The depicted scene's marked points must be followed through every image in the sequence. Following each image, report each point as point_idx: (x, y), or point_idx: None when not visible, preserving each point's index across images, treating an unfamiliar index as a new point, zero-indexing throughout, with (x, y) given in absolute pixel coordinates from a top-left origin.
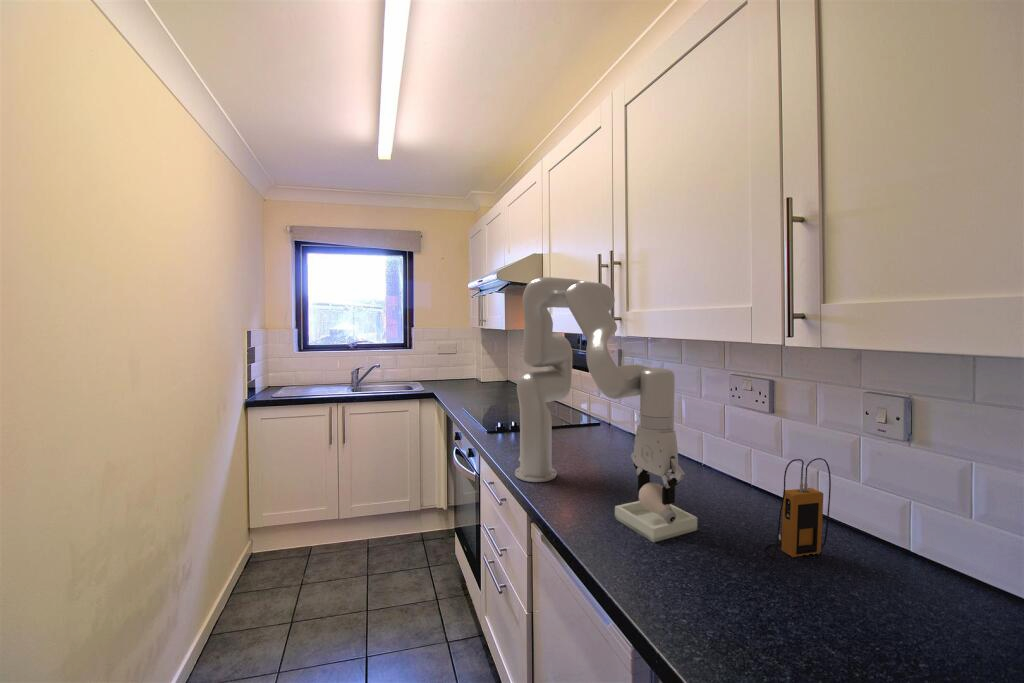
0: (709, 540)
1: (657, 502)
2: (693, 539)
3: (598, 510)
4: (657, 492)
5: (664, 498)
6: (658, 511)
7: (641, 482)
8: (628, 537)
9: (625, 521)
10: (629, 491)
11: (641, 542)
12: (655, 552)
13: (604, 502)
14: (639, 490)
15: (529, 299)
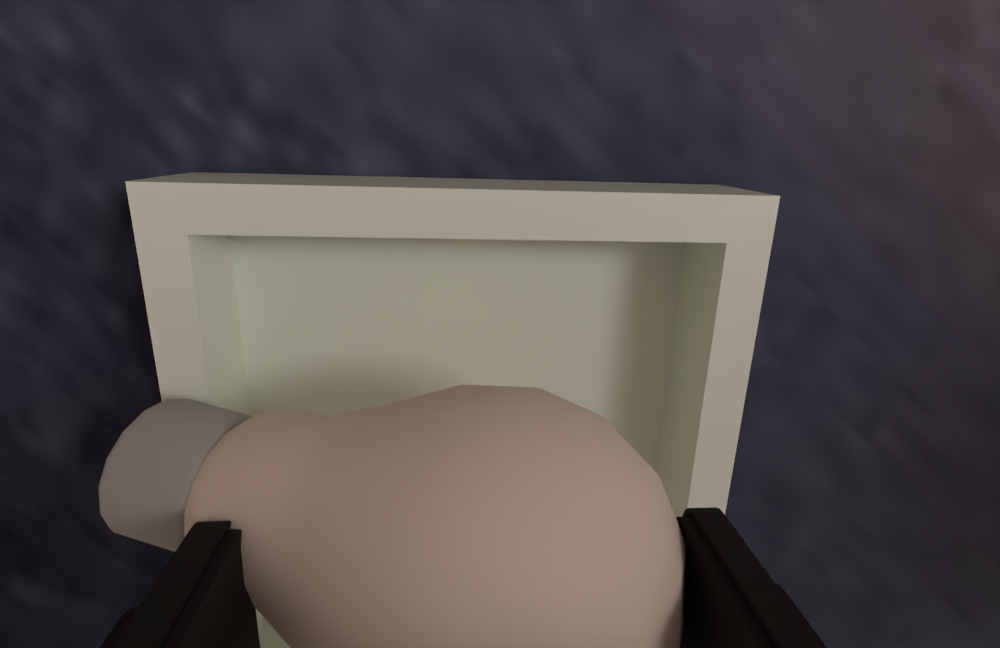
0: (88, 577)
1: (287, 489)
2: None
3: (920, 157)
4: (340, 623)
5: (156, 588)
6: (270, 419)
7: (738, 641)
8: (364, 29)
9: (575, 183)
10: (981, 612)
11: (235, 75)
12: (25, 54)
13: (989, 317)
14: (698, 525)
15: None
